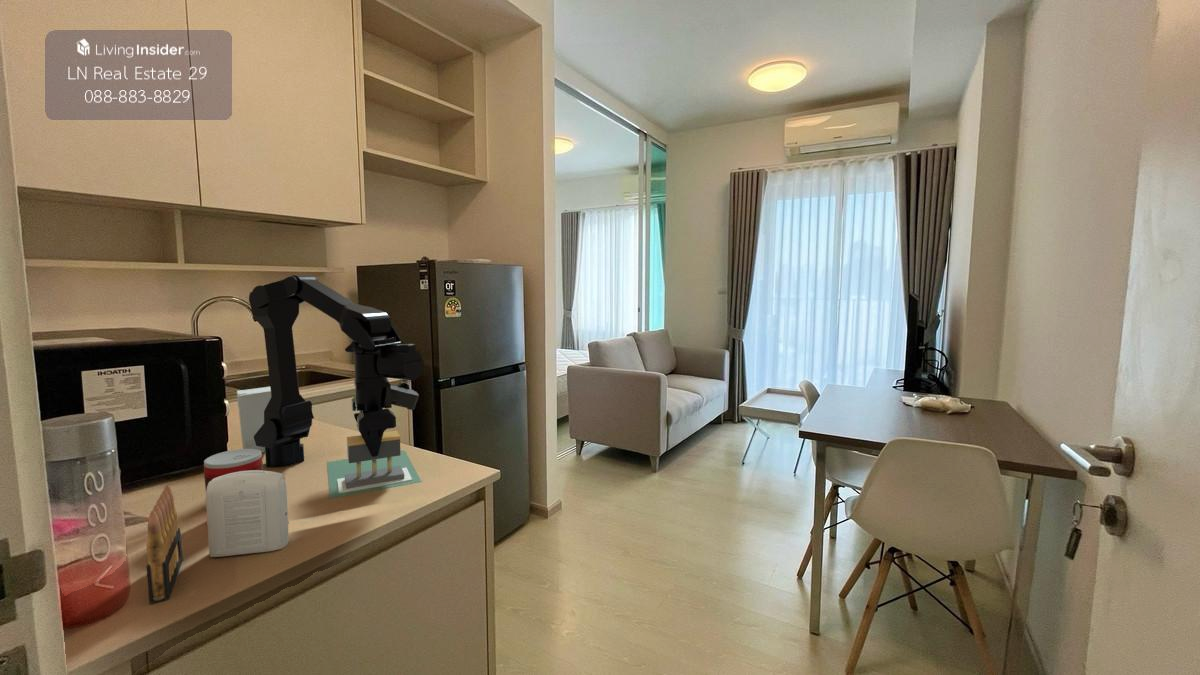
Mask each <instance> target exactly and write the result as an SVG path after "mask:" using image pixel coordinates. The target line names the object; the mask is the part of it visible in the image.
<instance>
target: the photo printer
mask: <svg viewBox="0 0 1200 675" xmlns="http://www.w3.org/2000/svg"><path fill="white" fill-rule="evenodd" d="M205 502H206V504H205V505H206V519H207V521H206V522H207V523H206V524H207V537H208V540H207V541H208V553H209V557H211V558H217V557H218V558H220V557H228V556H229V557H230V556H238V555H248V554H255V553H258V554H259V553H265V552H266V553H267V552H273V551H278V550H282V549H284V548H285V547H286V546H287V545H288V544H289V538H290V537H289V536H290V535H289V514H288V512H289V511H288V490H287V482H286V477H285V474H284V473H280V472H277V471H271V470H264V469H263V470H249V471H240V472H234V473H229V474H226V475H222V476H219V477H217V478H214V479H212V481H210V482H209V483H208V486H207V490H206V489H205Z"/></svg>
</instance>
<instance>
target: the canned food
mask: <svg viewBox="0 0 1200 675" xmlns="http://www.w3.org/2000/svg"><path fill="white" fill-rule="evenodd" d="M263 463H264V462H263V455H262V453H261V451H260V450H257V449H243V448H237V449H231V450H226V451H222V452H218V453H216V454H213V455H210V456H209V457H207V458H205V459H204V460H203V475H204V476H203V477H204V485H205V486H204V487H205V491H206V490H207V486H208V483H209V482H210V481H212V479H214V478H217V477H219V476H222V475H226V474H229V473H234V472H240V471H249V470H263V471H264V464H263Z"/></svg>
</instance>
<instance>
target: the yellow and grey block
mask: <svg viewBox="0 0 1200 675" xmlns="http://www.w3.org/2000/svg"><path fill="white" fill-rule="evenodd" d="M346 445H347V446H346V447H347V448H346V450H347V453H346V454H347V459H348V461H349V463H355V462H361V461H368V460H374V459H381V458H387V457H394V456H400V455H401V454H400V451H401V435H400V434H399V432H398V430H392V431H384V433H383V437H382V441H381V445H380V450H379V454H378V456H375V457H372V456H371V454H370V451H369V449H368V447H367V445H366V443H365V442H364V440H363V438H362V436H361V434H360V435H353V436H347V437H346Z"/></svg>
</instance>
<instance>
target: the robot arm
mask: <svg viewBox="0 0 1200 675" xmlns="http://www.w3.org/2000/svg"><path fill="white" fill-rule="evenodd" d="M248 302H249V305H250V309H251V310H250V311H251V315H252V316H253V318H254V319H255V321H257V323H258V324H259V325H260V327H261V328H262V329H263V335H264V343H265V352H266V360H267V361H266V362H267V369H268V377H269V387H270V388H271V399H270V401H269V403H268V405H267V407H266V408H265V410H264V424H263V425H262V426H261V428H260V429H259V430H258V431H257V433H256V434H255V435H254V440H255V443H256V446H260V447H265V452H264V456H265V468H273V469H274V468H275V469H276V468H277V469H278V468H286V467H289V466H293V465H296V464H300V463H303V462H305V448H304V447H305V446H304V443H301V439H303V438H304V439H305V438H307V437H309V433H310V430H311V427H312V425H313V419H315V416H314V414H313V402H312V400H306V399H305V398H304V396H302V395H301V394H300V388H299V386H300V385H299V379H298V378H299V377H298V369H297V368H298V367H297V361H296V360H297V359H296V352H295V350H296V349H295V343H294V333H293V326H294V324H295V322H296V320H297V318H298V317H299V314H300V305H301V304H303V303H305V302H306V303H307V304H309V305H311V306H312V307H314V308H316V309H317V310H318V311H320V312H322V313H323V314H325V315H327V317H330V318H331V319H333V320H335V321H336V322H337V323H338V324H339V327H340V330H341V331H342V332H343V334H344V335H346V336H347V337H348V338H349V339H350V340H351V343H350V344H348V345H347V346H346V347H345V348H344V351H345V352H346V353H353V356H354V357H353V360H354V362H353V363H354V379H353V382H354V383H353V384H354V387H355V396H353V397H352V398H351V409H352V412H355V413H353V417H354V420H355V421H356V427H357V429H358V432H359V433H360V435H361V436H362V438H363V440H364V442H365V443H366V445H367V447H368V449H369V451H370V454H371V456H372V457H375V456H378V454H379V450H380V445H381V441H382V437H383V433H384V432H386V430H388V429H390V430H391V429H394V428H396V427H397V418H396V415H395V413H394V412H393V411H391V408H392V407H393V406H396V407H397V406H398V407H402V408H406V409H407V410H411V411H414V410H415V408H416V406H417V403H418V400H419V396H420V395H419V393H418V392H417V391H415V390H414V389H410V385H409V383H408V382H405V381H415V380H417V379H418V378H419V377H420V376H421V375H422V373H423V370H424V363H425V362H424V359H423V356H422V354H421V353H420V352H419V351H418V350H416V347H417V346H416V344H415V343H405V344H404V341H403V340H402V338H401V335H400V334H399V333H398V331H397V330H396V328H395V326H394V324H393V323H392V322H391V316H390V315H389V314H388V313H387V312H386V311H383V310H380V309H378V308H375V307H372V306H368V305H361V304H358V303H355V302H354V301H352V300H351V299H349V298H347V297H345V296H344V295H342V294H340V293H339V292H338V291H336V290H334V289H332V288H330V287H329V286H327V285H325V284H324V283H322V282H320V281H319V280H318V279H317V277H314V276H313V275H310V274H309V275H303V274H302V275H301V274H297V275H296V274H293V275H290V276H287V277H285V278H283V279H280V280H277V281H275V282H270V283H267V284H263V285H261V284H259V285H256V286H255V287H254V288H252V291H250V292H249V296H248ZM389 379H396V380H404V381H400V382H399V383H398V384H396V385H391V382H390V381H389ZM392 405H393V406H392ZM356 411H358V412H356Z"/></svg>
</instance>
